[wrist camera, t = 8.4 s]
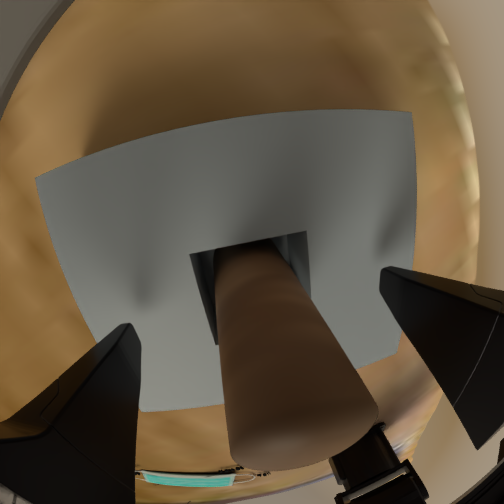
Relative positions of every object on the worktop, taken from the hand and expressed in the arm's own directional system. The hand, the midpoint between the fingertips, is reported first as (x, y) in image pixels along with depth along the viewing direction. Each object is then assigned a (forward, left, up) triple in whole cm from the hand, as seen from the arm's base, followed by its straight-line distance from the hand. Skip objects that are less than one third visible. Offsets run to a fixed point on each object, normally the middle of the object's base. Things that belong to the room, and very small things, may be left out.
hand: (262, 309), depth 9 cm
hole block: (0, 0, -5) cm, 5 cm away
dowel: (0, 0, -4) cm, 4 cm away
